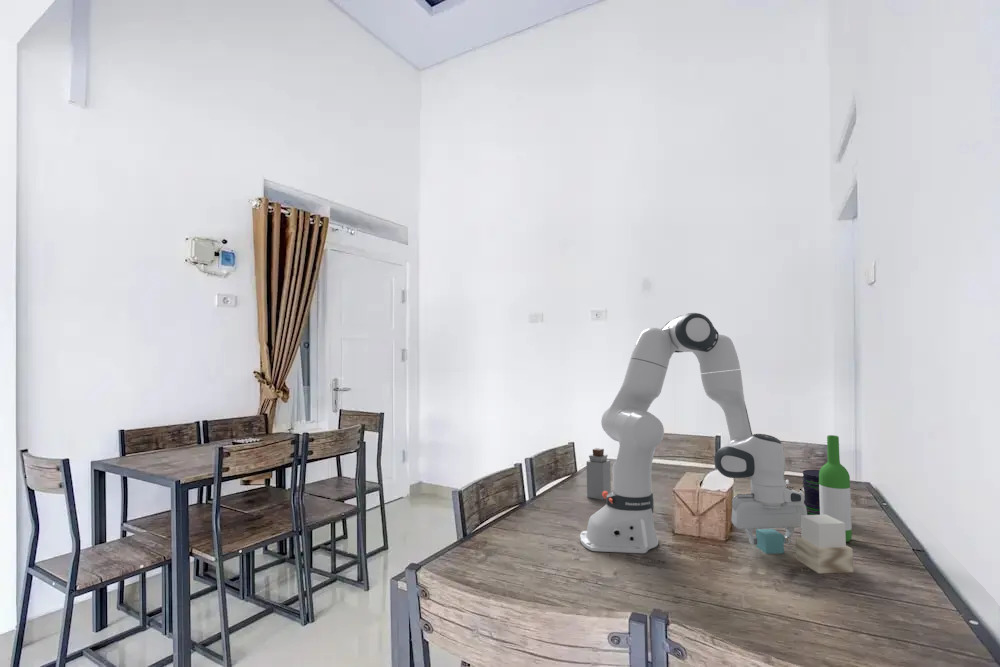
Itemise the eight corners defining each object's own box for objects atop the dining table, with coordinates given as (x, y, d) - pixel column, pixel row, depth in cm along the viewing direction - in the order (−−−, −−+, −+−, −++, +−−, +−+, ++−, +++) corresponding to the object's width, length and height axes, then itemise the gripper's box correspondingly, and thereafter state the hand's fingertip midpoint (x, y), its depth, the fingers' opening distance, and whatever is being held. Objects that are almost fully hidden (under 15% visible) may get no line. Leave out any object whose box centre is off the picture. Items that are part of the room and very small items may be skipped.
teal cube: (766, 553, 142) (765, 535, 142) (756, 547, 147) (755, 529, 147) (783, 553, 143) (783, 535, 143) (773, 546, 148) (773, 528, 148)
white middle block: (819, 548, 131) (818, 524, 131) (801, 538, 138) (800, 515, 138) (845, 547, 131) (845, 523, 131) (826, 537, 138) (826, 514, 138)
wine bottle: (824, 541, 151) (820, 437, 152) (817, 532, 158) (814, 433, 159) (855, 544, 148) (852, 438, 149) (847, 535, 155) (844, 434, 156)
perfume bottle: (594, 493, 204) (594, 447, 205) (610, 495, 200) (610, 448, 201) (587, 497, 199) (586, 449, 199) (603, 499, 195) (602, 451, 195)
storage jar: (833, 526, 163) (831, 478, 164) (799, 518, 171) (797, 473, 171) (843, 519, 170) (841, 473, 170) (810, 512, 177) (808, 468, 178)
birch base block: (818, 574, 130) (817, 549, 130) (796, 559, 139) (795, 536, 139) (853, 572, 130) (852, 548, 130) (828, 558, 139) (828, 535, 139)
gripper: (737, 497, 142) (739, 548, 142) (810, 495, 143) (811, 546, 143) (726, 491, 148) (727, 540, 148) (796, 489, 149) (797, 538, 149)
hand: (769, 543), depth 145 cm, fingers open, 8 cm apart
